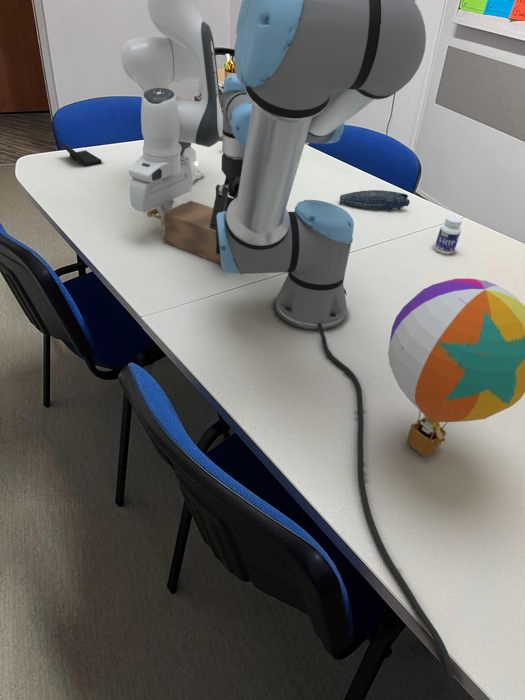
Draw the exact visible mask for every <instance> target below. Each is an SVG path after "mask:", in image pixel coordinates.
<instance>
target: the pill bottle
mask: <svg viewBox="0 0 525 700" xmlns="http://www.w3.org/2000/svg"><path fill="white" fill-rule="evenodd" d="M462 222H463V219H461V218H460V217H458V216H455V215H448V216H446V218H445V220H444V223H443V224H442V225H440V228H439V231H438V234H437V237H436V240H435V243H434V250H435V251H437V252H439V253H441V254H447V255H449V254H453V253H454V252H455V250H456V247H457V244H458V242H459V239H460V236H461V233H462V229H461V225H462Z"/></svg>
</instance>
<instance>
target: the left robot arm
mask: <svg viewBox="0 0 525 700" xmlns="http://www.w3.org/2000/svg"><path fill="white" fill-rule="evenodd" d="M147 8H148V13H149V18H150V19H151V22H152V23H153V25H154V27H155V28H156V29H157V30H158V32H160V34H162V35H163V37H162V36H161V37H159V36H157V37H156V36H141V37H136V38H132V39H128V40H127V41H126V42H125V43H124V45H123V47H122V49H121V64H122V67H123V70H124V72H125V73H126V75H127V76H128V77H129V78H130V79H131V80H132V81H133V82H135V83H136V84H137V85H138V86H139V87H140V88H141V90H142V91H143V92H144V93H143V94H142V97H141V104H140V105H141V106H140V127H141V128H140V129H141V135H142V137H143V146H142V155H141V156H140V157H139V159H137V161H136V162H135V163H133V164H132V165H131V166H130V167H129V169H128V176H130V177H131V180H130V182H129V196H130V197H129V198H130V206H131V208H133V209H134V210H135V211H137V212H140V213H147V212H148V211H150V210H153V209H155V208H156V209H157V211H158V214H157V215H159V216H161V214H162V213H164V212H166V211H168V210H170V209H171V208H173V205H174V203H175V199H177V198H178V197H180V196H181V197H182V196H183V195H185V194H187V193H189V192H191V191H192V189H193V186H194V182H195V181H196V180H199V179H201V178H202V177H203V174H202V172H201V171H199V170H198V166H199V163H198V162H197V152H196V150H195V149H194V147H192V144H196V145H198V146H202V147H207V148H211V147H213V146H214V145H216V144H217V143H218V142H220V141H219V140H220V139H221V138H222V136H223V106H222V101H221V94H220V86H219V85H220V84H219V74H218V67H217V65H218V64H217V56H216V49H215V42H214V41H215V40H214V37H213V33H212V29H211V27H210V25H209V24H207V22H205V20H204V19H203V16H202V13H201V11H200V5H199V0H147ZM195 82H199V90H200V98H201V99H200V100H191V99H184V98H183V97H180V96H179V95H177V94H176V93H175V92H174V91H173V90H171V89H170V88H169V84H170V83H195ZM164 204H165V205H164ZM163 207H164V209H163Z"/></svg>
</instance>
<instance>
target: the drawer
mask: <svg viewBox="0 0 525 700" xmlns="http://www.w3.org/2000/svg"><path fill="white" fill-rule="evenodd" d="M185 203H186V202H183V203H180V204H178V205H177V206H174V207H172V208H171V209H170V210H168V211H166V212H164V213H162V214H161V216H159V215H158V211H157V209H156V208H153V209H151V210H149V211H147V212H146V216H147V217H148V218H155V219H158V220H160V229H161V232H160V233H161V237H162V238H164V239H166V236H165V216H164V214H165V213H167V212H169V211H171V210H173V209H175V208H177V207H179V206H181V205H183V204H185ZM164 205H165V203H164ZM163 209H164V207H163Z"/></svg>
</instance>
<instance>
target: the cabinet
mask: <svg viewBox="0 0 525 700" xmlns="http://www.w3.org/2000/svg"><path fill="white" fill-rule="evenodd" d="M184 203H185V204H183V203H182V204H183V205H181V204H180V205H181V206H179V205H178V206H179V207H177V208H175V209H173V210H171V211H169V212H167V213H165V214H164V216H165V236H166V238H165V243H166V244H168V245H170V246H173V247H176V248H179V249H181V250H184V251H186V252H189V253H191V254H193V255H197V256H199V257H202V258H205V259H207V260H210V261H212V262H215V263H217V264H220V265H222V264H221V256H220V254H218V253H216V230H213V229H210V223H211V218H212V213H213V208H214V207H211V206H208V205H205V204H203V203H200V202H196V201H194V200H189V201H187V202H184Z"/></svg>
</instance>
